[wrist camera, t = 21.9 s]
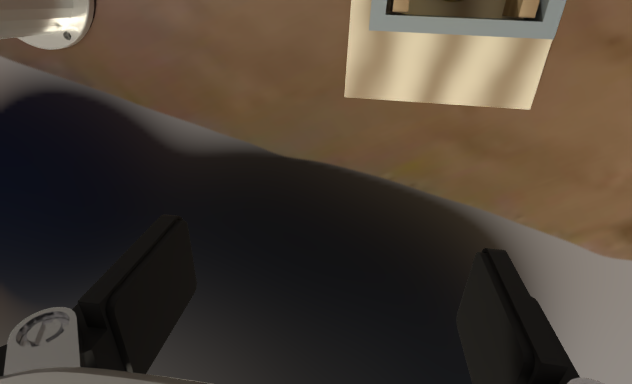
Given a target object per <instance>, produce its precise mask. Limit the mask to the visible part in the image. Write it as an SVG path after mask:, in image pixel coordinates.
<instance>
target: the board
mask: <svg viewBox="0 0 632 384" xmlns="http://www.w3.org/2000/svg"><path fill="white" fill-rule="evenodd" d="M371 1H372V0H351V13H350V26H349V40H348V54H347V68H346V81H345V95H344V97H350V98H365V99H380V100H395V101H409V102H424V103H439V104H454V105H469V106H484V107H498V108H513V109H528V110H530V108H531V105H532V102H533V99H534V96H535V92H536V89H537V86H538V83H539V80H540V77H541V74H542V71H543V67H544V64H545V61H546V58H547V55H548V52H549V49H550V46H551V42H552V39H534V38H513V37H493V36H472V35H452V34H431V33H411V32H390V31H370V30H369V21H370V11H371ZM539 1H540V0H463V1H459V2H448V1H444V0H387V5H386V13H387V14H410V15H433V16H455V17H478V18H501V19H524V18H535V15H536V12H537V8H538V5H539Z"/></svg>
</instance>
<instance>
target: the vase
mask: <svg viewBox="0 0 632 384" xmlns="http://www.w3.org/2000/svg"><path fill="white" fill-rule="evenodd" d="M444 1H448V2H459V1H463V0H444Z"/></svg>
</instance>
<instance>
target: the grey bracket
mask: <svg viewBox="0 0 632 384" xmlns="http://www.w3.org/2000/svg"><path fill="white" fill-rule="evenodd" d="M565 3H566V0H540V1H539V5H538V8H537V12H536V15H535V18H524V19H501V18H478V17H455V16H433V15H410V14H387V13H386V5H387V0H372V1H371V11H370V21H369V30H370V31H390V32H411V33H431V34H452V35H472V36H493V37H513V38H534V39H554V37H555V34H556V31H557V28H558V25H559V22H560V19H561V16H562V12H563V9H564V6H565Z"/></svg>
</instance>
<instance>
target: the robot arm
mask: <svg viewBox="0 0 632 384" xmlns="http://www.w3.org/2000/svg"><path fill="white" fill-rule="evenodd" d="M93 14H94V0H0V39H5V38H15V37H17V38H19V39H20V40H22V41H24V42H26V43H27V44H30V45H32V46H35V47H38V48H43V49H61V48H66V47H70V46H72V45H74V44H76V43H78V42H79V41H80V40H81V39H82V38H83V37H84V36H85V35H86V33H87V32H88V30H89V28H90V25H91V23H92V20H93ZM196 285H197V282H196V275H195V270H194V262H193V256H192V250H191V243H190V237H189V231H188V225H187V222H186V221H183V219H182V217H180V216H173V215H162V216H161V217H159V218H158V220H156V222H154V223H153V224H152V225H151V227H150V228H149V229H148V230H147V231H146V232H145V233H144V234H143V235H142V236H141V237H140V238H139V239H138V240H137V241H136V242H135V243H134V244H133V245H132V246H131V247H130V248H129V249H128V251H126V252H125V253H124V254H123V255H122V256H121V257H120V258H119V259H118V261H116V263H115V264H114V265H113V266H112V267H111V268H110V269H109V270H108V271H107V272H106V273H105V274H104V275H103V276H102V277H101V278H100V279H99V280H98V281H97V282H96V283H95V284H94V285H93V286H92V287H91V288H90V289H89V290H88V291H87V292H86V293H85V294H84V295H83V296H82V297H81V298H80V300H79V301H78V304H77V305H76V306H75V307H74V308H73V309H72V310H71V309H69V308H64V307H54V308H49V309H45V310H42V311H40V312H37V313H35V314H33V315H31V316H29V317H28V318H26V319H24V320H23V321H22V322H21V323H19V324H18V325H17V326H16V327H15V328H14V330H13V331H12V332H11V333H10V336H9V339H8V344H7V345H4V346H2V347H0V384H211V383H204V382H197V381H190V380H183V379H177V378H170V377H163V376H156V375H148V374H146V373H147V371H148V369H149V368H150V366H151V365H152V363H153V361H154V359H155V358H156V356H157V355H158V353H159V351H160V350H161V348H162V346H163V345H164V343H165V341H166V340H167V338H168V336H169V335H170V333H171V331H172V330H173V328H174V326H175V325H176V323H177V321H178V319H179V318H180V316H181V315H182V313H183V311H184V309H185V308H186V306H187V305H188V303H189V301H190V300H191V298H192V296H193V295H194V293H195V290H196ZM457 328H458V331H459V335H460V339H461V342H462V346H463V350H464V354H465V358H466V361H467V365H468V368H469V372H470V376H471V380H472V383H473V384H603V383H601V382H599V381H596V380H592V379H589V378H580V377H579V375H578V373H577V371H576V370H575V368H574V366H573V364H572V362H571V361H570V359H569V357H568V355H567V353H566V352H565V350H564V348H563V346H562V345H561V343H560V341H559V339H558V337H557V336H556V334H555V332H554V330H553V328H552V327H551V325H550V323H549V321H548V320H547V318H546V316H545V314H544V312H543V311H542V309H541V307H540V305H539V303H538V302H537V301H536V299H535V298H533V297H531V296H530V294H529V293H528V291H527V289H526V287H525V285H524V283H523V282H522V280H521V278H520V276H519V274H518V272H517V271H516V269H515V267H514V265H513V263H512V261H511V259H510V258H509V256H508V254H507V252H506V251H504V250H497V249H488V248H485V249H483V251H482V253H481V252H477V253H476V255H475V258H474V261H473V265H472V268H471V271H470V274H469V278H468V281H467V284H466V287H465V291H464V294H463V297H462V300H461V304H460V307H459V310H458V314H457Z"/></svg>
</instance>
